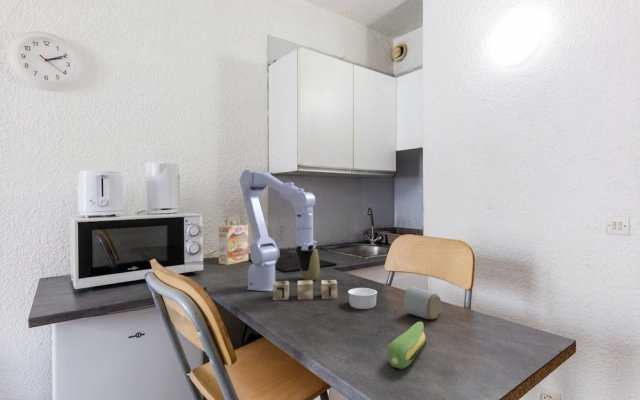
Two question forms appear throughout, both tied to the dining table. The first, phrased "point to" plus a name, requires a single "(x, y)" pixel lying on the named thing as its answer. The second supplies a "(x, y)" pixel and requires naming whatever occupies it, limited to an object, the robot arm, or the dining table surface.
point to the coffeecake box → (233, 244)
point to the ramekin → (362, 298)
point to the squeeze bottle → (312, 266)
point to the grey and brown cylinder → (421, 303)
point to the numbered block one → (329, 289)
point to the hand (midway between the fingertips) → (305, 268)
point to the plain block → (305, 289)
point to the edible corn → (406, 346)
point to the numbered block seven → (281, 290)
